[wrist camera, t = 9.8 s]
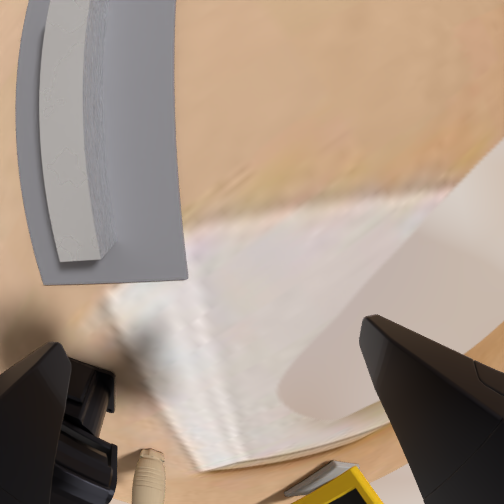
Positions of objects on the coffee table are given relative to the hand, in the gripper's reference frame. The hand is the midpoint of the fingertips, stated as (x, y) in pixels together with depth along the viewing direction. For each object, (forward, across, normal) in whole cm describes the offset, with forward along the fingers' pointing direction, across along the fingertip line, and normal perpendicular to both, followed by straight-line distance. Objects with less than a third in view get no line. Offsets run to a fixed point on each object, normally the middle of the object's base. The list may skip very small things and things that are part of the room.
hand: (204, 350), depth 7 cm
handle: (+12, +12, +28) cm, 33 cm away
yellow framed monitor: (+12, -12, +45) cm, 48 cm away
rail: (+12, +8, -9) cm, 16 cm away
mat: (+12, +8, -9) cm, 17 cm away
